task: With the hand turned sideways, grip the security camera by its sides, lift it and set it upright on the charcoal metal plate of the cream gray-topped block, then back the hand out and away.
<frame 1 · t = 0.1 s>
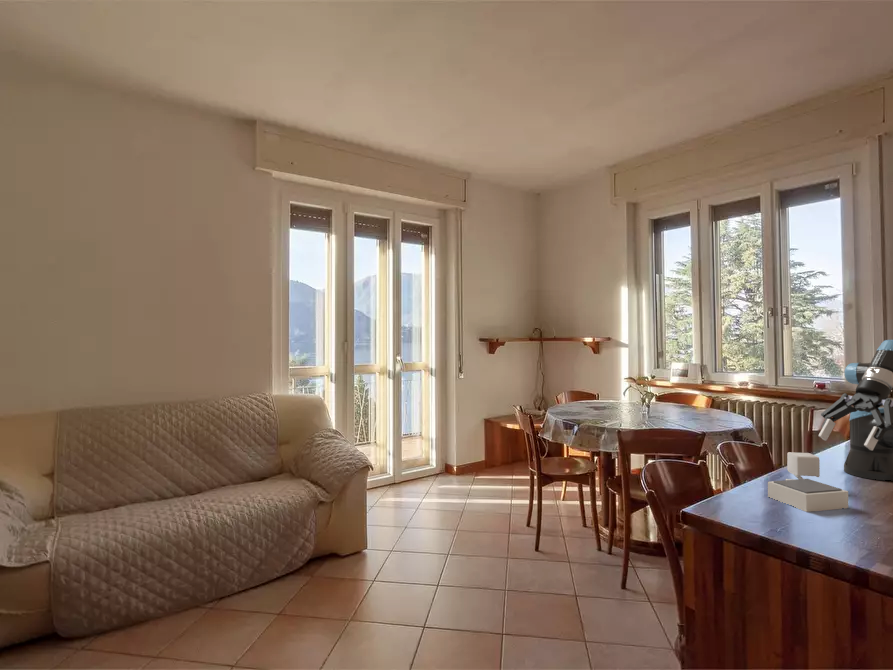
hand: (844, 442, 144), 15 cm above the table, tool tilted 35°, fingers open, 13 cm apart
cream gray-topped block: (806, 502, 135), on the table
security camera: (801, 486, 150), on the table
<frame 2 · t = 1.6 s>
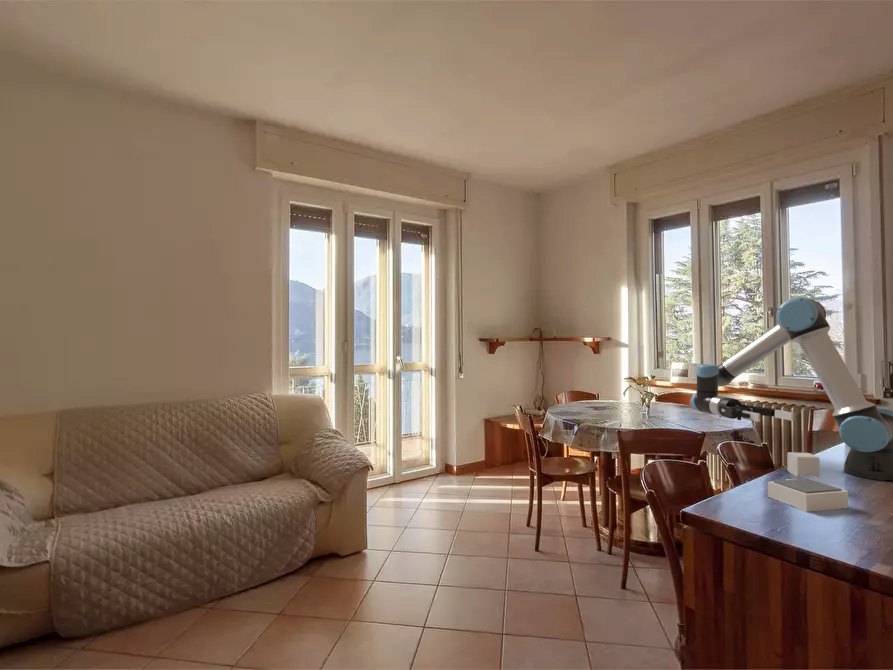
hand: (776, 417, 159), 20 cm above the table, tool horizontal, fingers open, 13 cm apart
nothing on the table moved.
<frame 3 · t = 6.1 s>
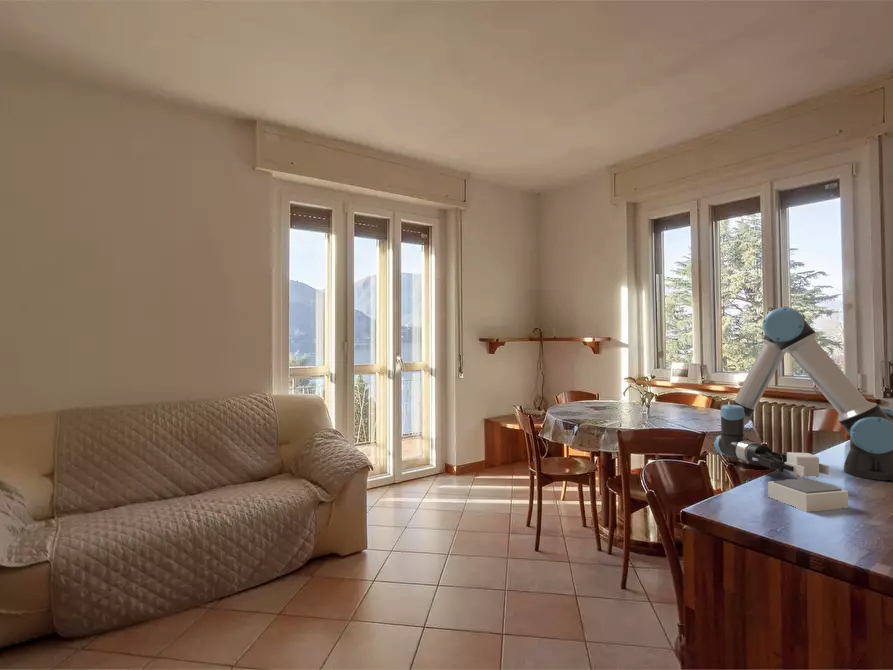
hand: (816, 470, 146), 6 cm above the table, tool horizontal, fingers closed on security camera, 8 cm apart
security camera: (801, 486, 150), on the table, touching gripper
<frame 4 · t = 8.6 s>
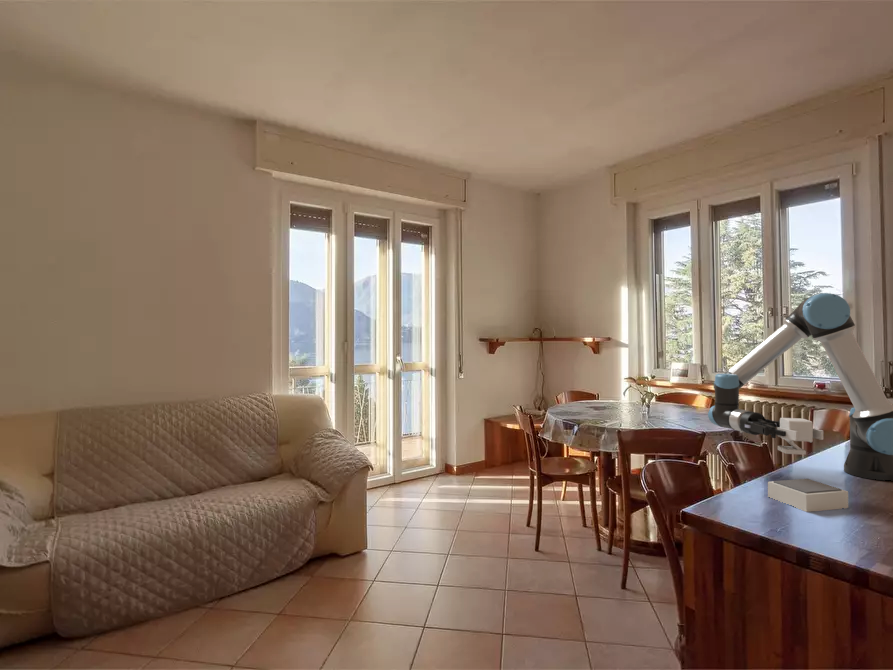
hand: (809, 435, 139), 18 cm above the table, tool horizontal, fingers closed on security camera, 8 cm apart
security camera: (794, 452, 144), point 12 cm above the table, touching gripper
when the fingers open (12 cm above the table, at t = 11.1 s): security camera stays where it is, resting on cream gray-topped block.
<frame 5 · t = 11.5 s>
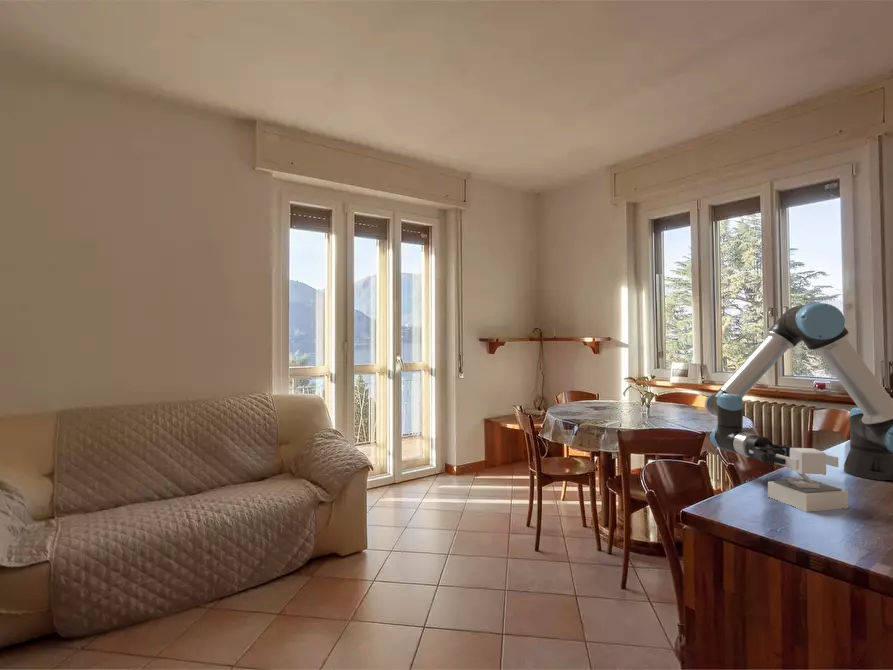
hand: (817, 463, 132), 12 cm above the table, tool horizontal, fingers open, 13 cm apart
security camera: (806, 485, 135), point 5 cm above the table, touching cream gray-topped block
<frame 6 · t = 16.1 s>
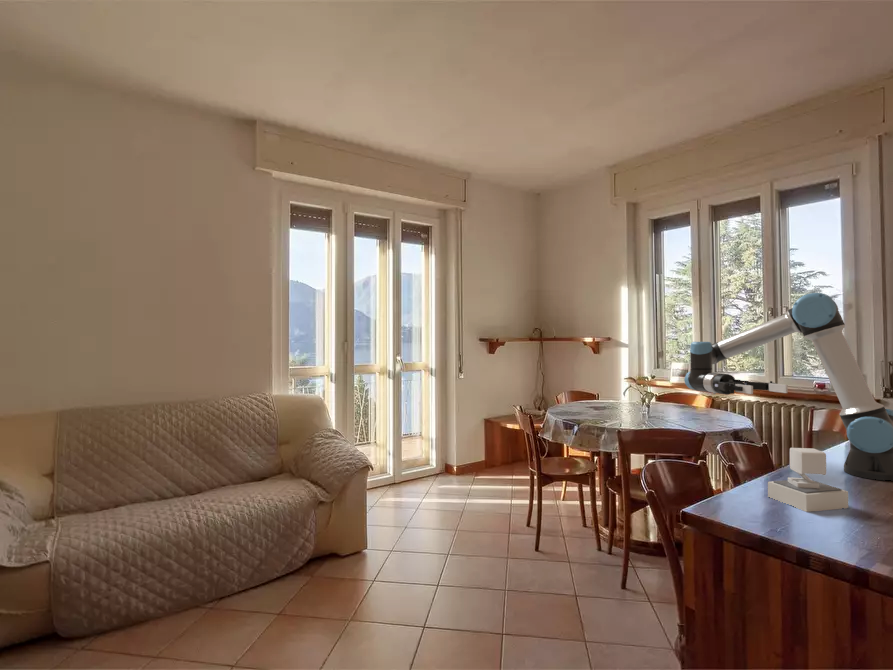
hand: (769, 389, 156), 30 cm above the table, tool horizontal, fingers open, 13 cm apart
nothing on the table moved.
at the end: security camera inside the target area on the cream gray-topped block (0.3 cm from its centre), point 4.8 cm above the cream gray-topped block's base; security camera tilted 0°; the gripper is holding nothing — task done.
